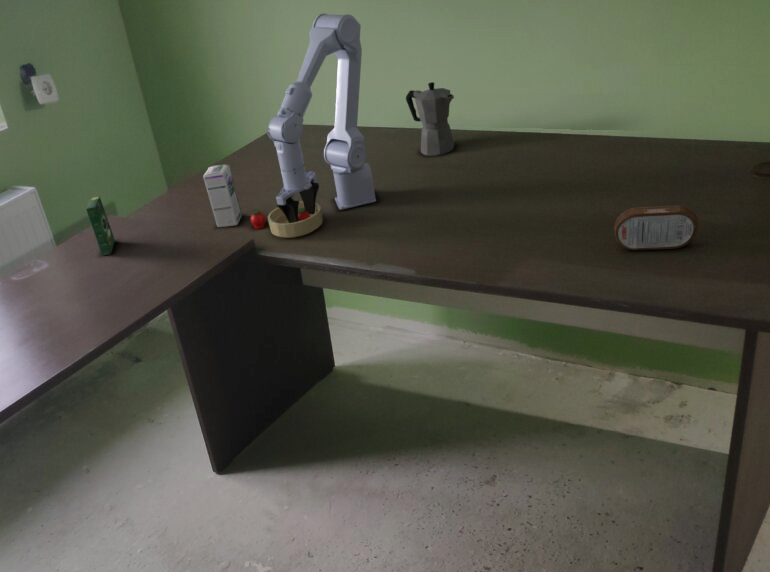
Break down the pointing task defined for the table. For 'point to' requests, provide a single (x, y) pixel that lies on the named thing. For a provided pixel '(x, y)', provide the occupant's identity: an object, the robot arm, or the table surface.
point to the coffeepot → (433, 119)
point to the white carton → (222, 195)
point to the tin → (656, 227)
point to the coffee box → (100, 225)
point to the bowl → (296, 229)
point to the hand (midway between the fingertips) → (302, 219)
